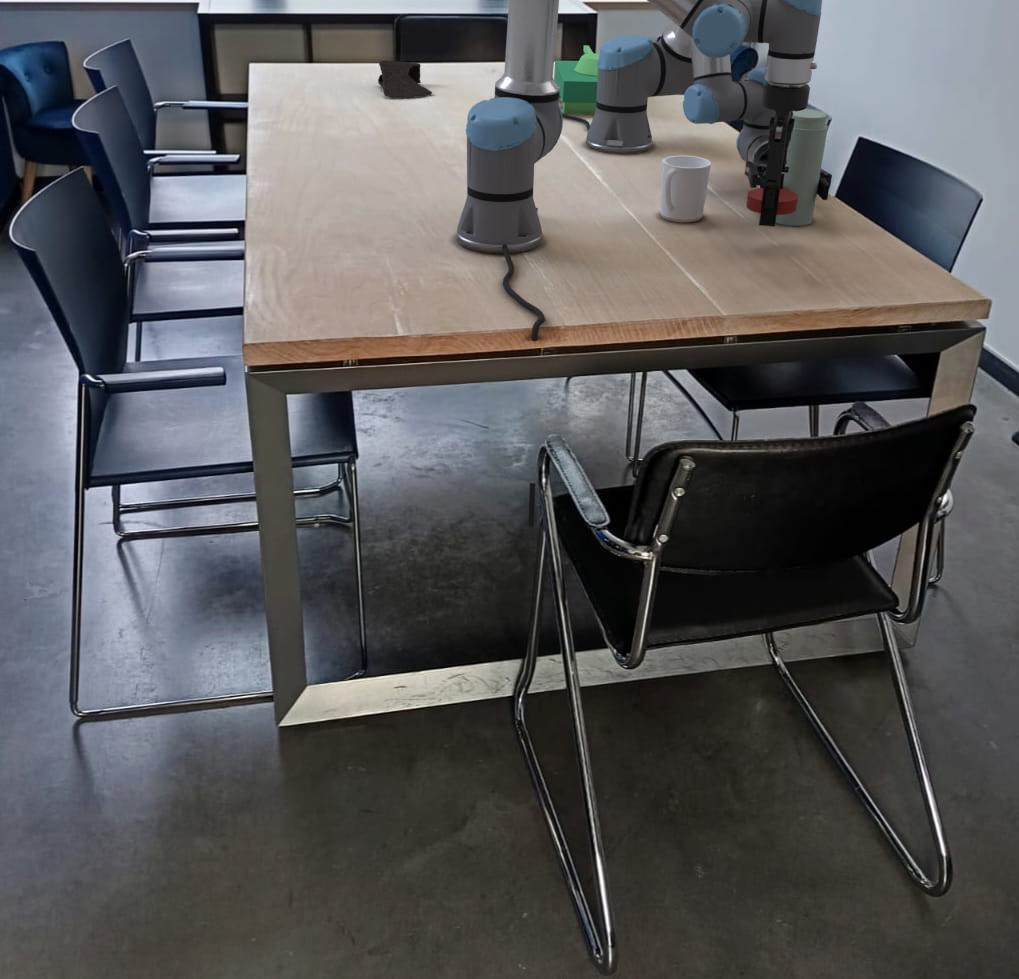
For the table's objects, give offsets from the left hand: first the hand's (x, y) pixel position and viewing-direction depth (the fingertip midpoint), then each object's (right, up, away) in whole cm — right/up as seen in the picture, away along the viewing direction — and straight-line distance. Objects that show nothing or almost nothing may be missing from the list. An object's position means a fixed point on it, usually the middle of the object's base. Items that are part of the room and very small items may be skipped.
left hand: (769, 217), depth 193 cm
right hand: (+9, +7, +10) cm, 15 cm away
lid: (0, +3, -2) cm, 4 cm away
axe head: (-75, +61, +108) cm, 145 cm away
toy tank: (-24, +56, +101) cm, 118 cm away
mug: (-14, +4, +16) cm, 22 cm away
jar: (+8, +4, +17) cm, 19 cm away
